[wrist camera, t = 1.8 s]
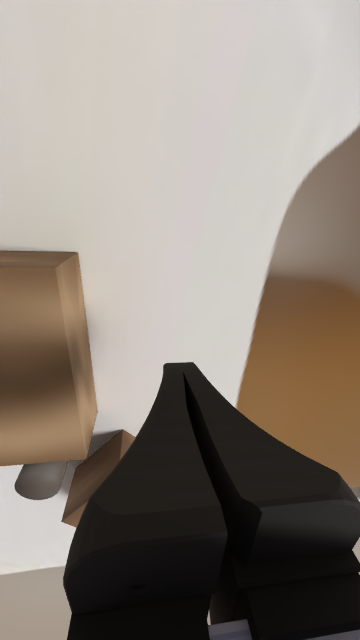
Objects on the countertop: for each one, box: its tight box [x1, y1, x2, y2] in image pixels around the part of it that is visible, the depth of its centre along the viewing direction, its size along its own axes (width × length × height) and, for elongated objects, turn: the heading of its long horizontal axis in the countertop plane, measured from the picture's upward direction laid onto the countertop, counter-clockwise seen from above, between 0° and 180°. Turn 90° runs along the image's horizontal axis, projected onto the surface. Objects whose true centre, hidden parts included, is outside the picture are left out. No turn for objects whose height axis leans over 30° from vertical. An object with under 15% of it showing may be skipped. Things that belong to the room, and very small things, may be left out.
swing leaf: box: [0, 251, 97, 500], centre depth 15 cm, size 15×6×4 cm, turn 178°
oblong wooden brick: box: [61, 430, 136, 527], centre depth 22 cm, size 12×6×4 cm, turn 43°
